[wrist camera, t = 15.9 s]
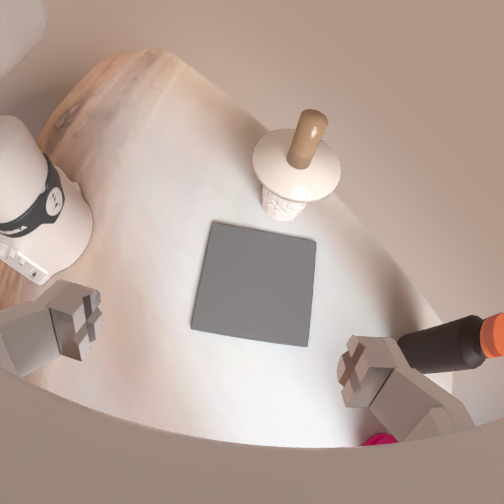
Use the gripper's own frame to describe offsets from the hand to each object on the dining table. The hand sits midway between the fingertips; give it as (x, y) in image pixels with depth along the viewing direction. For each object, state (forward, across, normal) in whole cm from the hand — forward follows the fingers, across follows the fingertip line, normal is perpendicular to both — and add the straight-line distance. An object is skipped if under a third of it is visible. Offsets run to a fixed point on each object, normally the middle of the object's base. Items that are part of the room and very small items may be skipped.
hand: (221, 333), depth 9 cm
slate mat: (+30, -4, +14) cm, 34 cm away
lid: (+33, -6, -3) cm, 34 cm away
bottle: (+25, -30, +20) cm, 44 cm away
